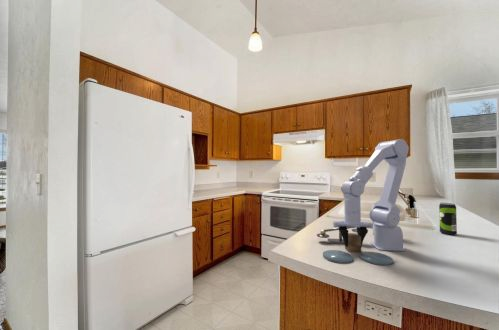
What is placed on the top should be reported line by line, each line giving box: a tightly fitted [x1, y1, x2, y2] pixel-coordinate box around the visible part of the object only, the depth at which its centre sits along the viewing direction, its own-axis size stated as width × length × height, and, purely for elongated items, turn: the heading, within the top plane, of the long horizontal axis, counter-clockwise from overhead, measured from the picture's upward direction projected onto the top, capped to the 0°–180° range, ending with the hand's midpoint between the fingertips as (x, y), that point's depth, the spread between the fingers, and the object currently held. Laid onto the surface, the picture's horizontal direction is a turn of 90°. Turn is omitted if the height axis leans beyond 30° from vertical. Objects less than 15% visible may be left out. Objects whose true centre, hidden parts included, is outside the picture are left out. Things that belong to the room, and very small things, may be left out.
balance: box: [316, 227, 357, 245], centre depth 94 cm, size 20×5×8 cm, turn 83°
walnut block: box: [344, 232, 362, 253], centre depth 85 cm, size 4×4×6 cm
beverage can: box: [438, 202, 458, 236], centre depth 108 cm, size 6×6×15 cm
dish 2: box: [359, 251, 394, 266], centre depth 76 cm, size 10×10×1 cm
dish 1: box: [322, 249, 354, 264], centre depth 78 cm, size 10×10×1 cm
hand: (352, 246), depth 85 cm, fingers closed on walnut block, 4 cm apart
